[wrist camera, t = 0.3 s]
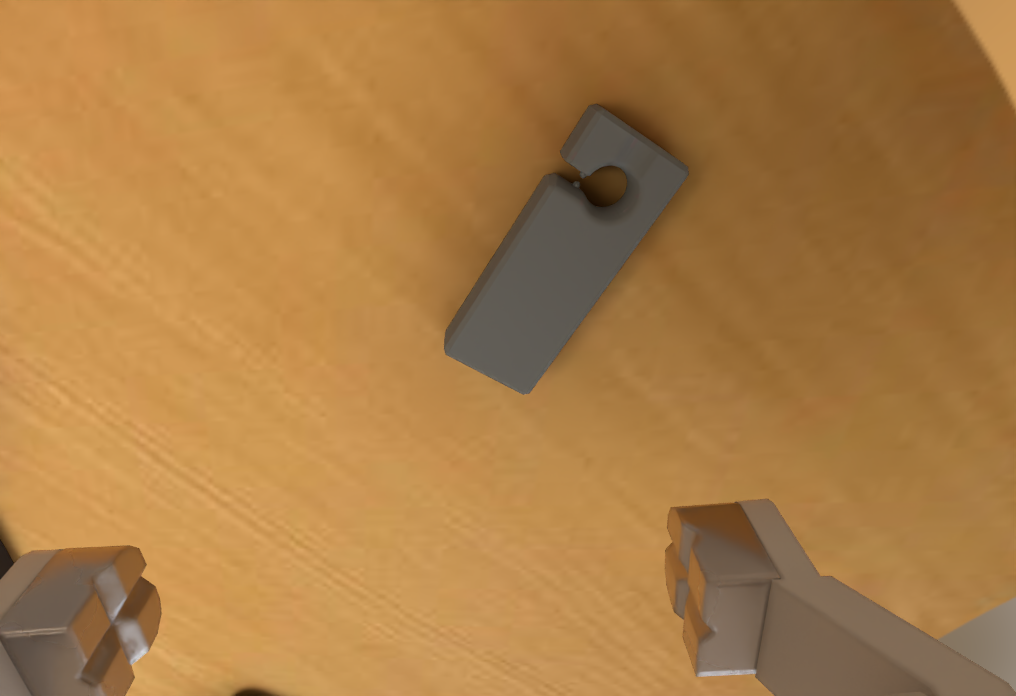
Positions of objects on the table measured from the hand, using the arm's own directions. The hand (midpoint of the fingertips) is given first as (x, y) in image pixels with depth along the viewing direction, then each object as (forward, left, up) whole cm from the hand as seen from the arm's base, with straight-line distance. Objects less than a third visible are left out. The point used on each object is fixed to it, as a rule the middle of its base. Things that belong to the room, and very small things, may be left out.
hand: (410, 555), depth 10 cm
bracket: (+1, +4, -16) cm, 17 cm away
